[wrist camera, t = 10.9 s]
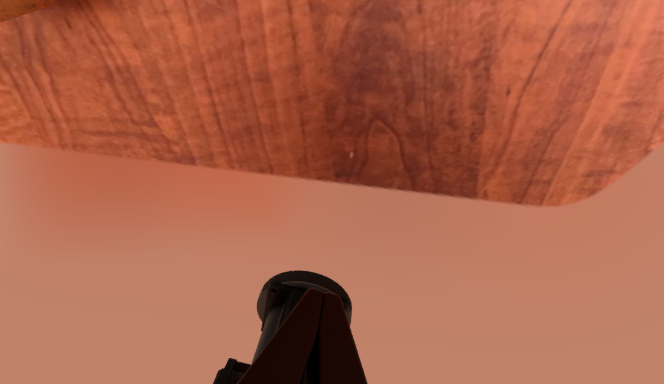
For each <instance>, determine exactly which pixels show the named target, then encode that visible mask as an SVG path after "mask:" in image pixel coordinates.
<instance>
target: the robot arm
mask: <svg viewBox="0 0 664 384" xmlns="http://www.w3.org/2000/svg"><path fill="white" fill-rule="evenodd" d="M347 309H348V301H347V300H345V299H342V298H341V297H340V296H339V295H338V294H334V293H330V292H325V293H324V292H323V291H322V290H318V289H314V288H309V289H308V290H306V289H302V288H298V287H294V286H289V285H285V284H281V283H277V282H272V283H270V285H269V287H268V292H267V298H266V304H265V310H264V316H263V322H262V328H261V331H262V334H261V337H260V340H259V343H258V346H257V349H256V352H255V355H254V358H253V361H252V364H251V365H250V364H246V363H242V362H238V361H237V360H236V359H232V358H229V360H228V362H227V364H226V366H225V368H224V369H223V368H222V369H221V370H219V371H218V373H217V375H216V378H215V380H214V383H213V384H367V381H366V377H365V374H364V371H363V368H362V364H361V361H360V358H359V355H358V351H357V348H356V345H355V342H354V339H353V335H352V333H351V329H350V326H349V323H348V319H347V316H346V312H347Z"/></svg>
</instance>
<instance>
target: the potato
mask: <svg viewBox="0 0 664 384" xmlns="http://www.w3.org/2000/svg"><path fill="white" fill-rule="evenodd" d="M55 1H56V0H0V21H1V22H3V21H6V20H9V19H12V18H15V17H18V16H21V15H24V14H27V13H30V12H33V11H37V10H40V9H43V8H46V7H49V6H52V5H53V4H54V2H55Z"/></svg>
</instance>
